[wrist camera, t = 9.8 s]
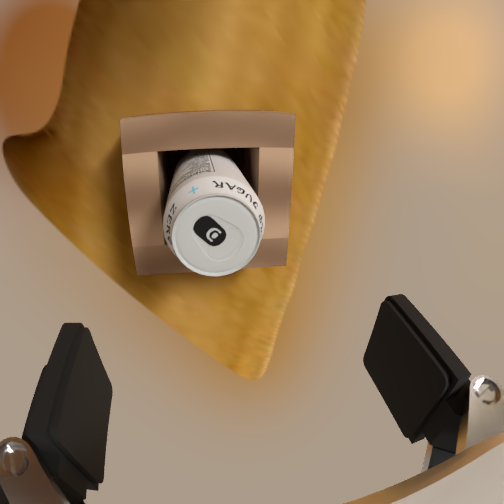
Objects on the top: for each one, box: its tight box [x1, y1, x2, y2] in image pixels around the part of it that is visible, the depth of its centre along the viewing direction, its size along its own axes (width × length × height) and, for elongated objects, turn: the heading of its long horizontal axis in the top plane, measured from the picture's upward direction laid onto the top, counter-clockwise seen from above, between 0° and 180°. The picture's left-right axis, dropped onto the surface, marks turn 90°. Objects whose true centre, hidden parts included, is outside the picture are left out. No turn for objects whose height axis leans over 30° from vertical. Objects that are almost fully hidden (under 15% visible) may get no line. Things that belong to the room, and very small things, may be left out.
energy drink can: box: [163, 148, 265, 276], centre depth 23 cm, size 6×6×15 cm
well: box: [120, 110, 295, 276], centre depth 27 cm, size 13×13×7 cm
